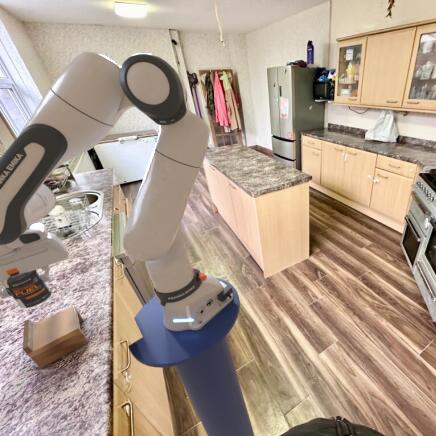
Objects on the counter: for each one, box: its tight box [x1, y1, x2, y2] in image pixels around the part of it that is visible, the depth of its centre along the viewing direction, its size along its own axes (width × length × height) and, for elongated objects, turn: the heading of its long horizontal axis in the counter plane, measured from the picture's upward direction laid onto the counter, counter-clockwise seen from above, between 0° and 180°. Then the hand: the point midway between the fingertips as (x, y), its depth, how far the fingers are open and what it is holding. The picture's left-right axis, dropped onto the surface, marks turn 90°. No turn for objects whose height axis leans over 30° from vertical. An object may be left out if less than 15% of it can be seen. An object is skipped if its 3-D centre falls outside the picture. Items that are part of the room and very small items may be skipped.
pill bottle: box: [0, 268, 53, 309], centre depth 58 cm, size 6×6×11 cm
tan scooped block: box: [22, 304, 89, 369], centre depth 65 cm, size 10×12×8 cm
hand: (28, 288), depth 59 cm, fingers closed on pill bottle, 6 cm apart
